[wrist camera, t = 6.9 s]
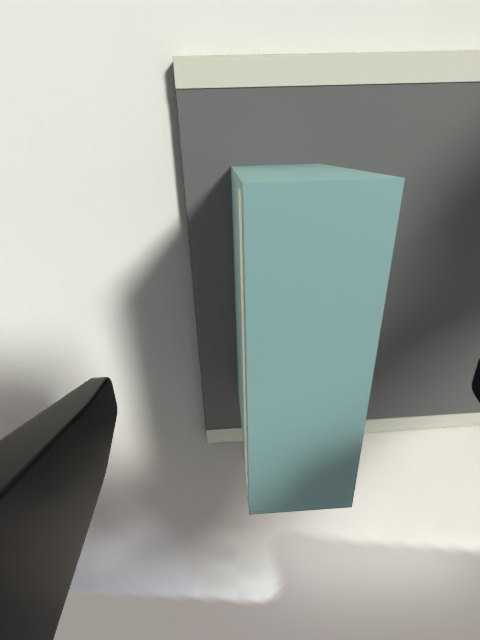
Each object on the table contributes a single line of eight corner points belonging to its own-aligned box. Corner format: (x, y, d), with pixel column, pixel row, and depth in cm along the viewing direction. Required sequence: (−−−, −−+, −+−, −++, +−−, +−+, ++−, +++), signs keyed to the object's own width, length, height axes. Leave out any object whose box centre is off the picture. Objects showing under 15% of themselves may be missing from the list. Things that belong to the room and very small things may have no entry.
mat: (615, 50, 12) (630, 46, 11) (488, 418, 18) (494, 424, 18) (174, 59, 11) (172, 56, 11) (207, 436, 17) (207, 443, 17)
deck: (321, 163, 12) (406, 178, 7) (306, 385, 16) (352, 507, 11) (230, 166, 12) (241, 183, 7) (237, 389, 16) (248, 514, 10)
